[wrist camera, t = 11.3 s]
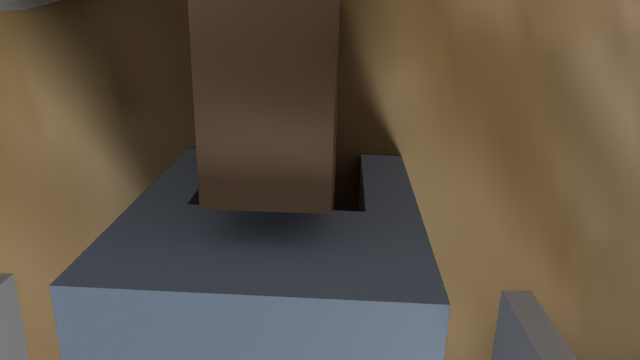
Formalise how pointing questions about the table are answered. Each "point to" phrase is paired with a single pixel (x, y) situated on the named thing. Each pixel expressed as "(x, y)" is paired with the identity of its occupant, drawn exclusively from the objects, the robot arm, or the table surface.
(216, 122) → the notched rail
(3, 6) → the can
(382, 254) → the slotted block
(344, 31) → the table surface
